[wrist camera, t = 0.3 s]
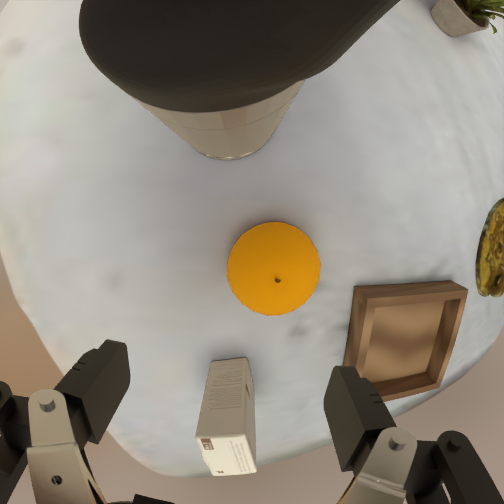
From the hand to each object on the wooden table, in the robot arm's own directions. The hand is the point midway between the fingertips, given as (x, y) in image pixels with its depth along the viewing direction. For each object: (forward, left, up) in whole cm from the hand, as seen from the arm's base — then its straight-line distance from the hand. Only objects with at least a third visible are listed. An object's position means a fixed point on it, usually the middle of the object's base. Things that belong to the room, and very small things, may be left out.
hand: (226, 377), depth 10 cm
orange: (0, +3, -19) cm, 19 cm away
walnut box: (+10, +19, -18) cm, 28 cm away
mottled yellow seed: (-2, +36, -19) cm, 41 cm away
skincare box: (+14, -1, -19) cm, 23 cm away
